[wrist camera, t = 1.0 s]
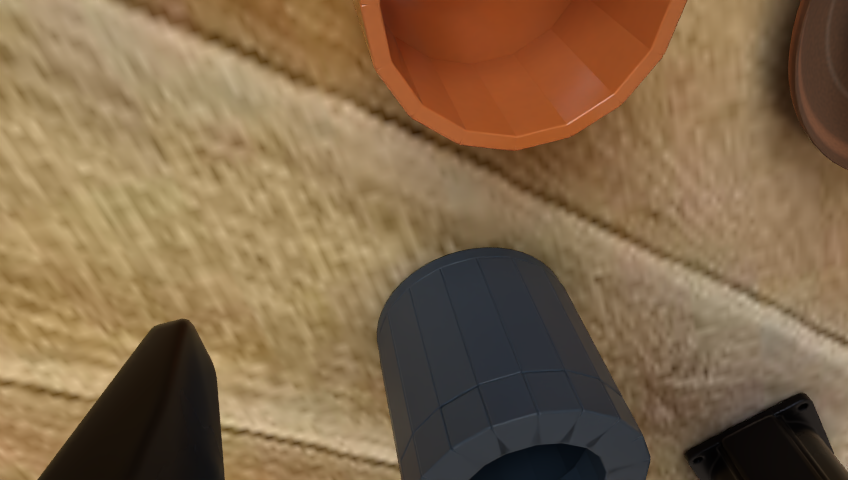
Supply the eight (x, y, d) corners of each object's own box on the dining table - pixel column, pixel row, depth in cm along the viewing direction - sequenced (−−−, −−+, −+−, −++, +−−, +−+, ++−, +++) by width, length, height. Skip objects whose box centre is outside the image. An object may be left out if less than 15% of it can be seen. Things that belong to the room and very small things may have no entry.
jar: (594, 328, 28) (683, 489, 22) (440, 415, 29) (484, 588, 23) (511, 209, 24) (593, 370, 18) (335, 319, 25) (357, 501, 19)
